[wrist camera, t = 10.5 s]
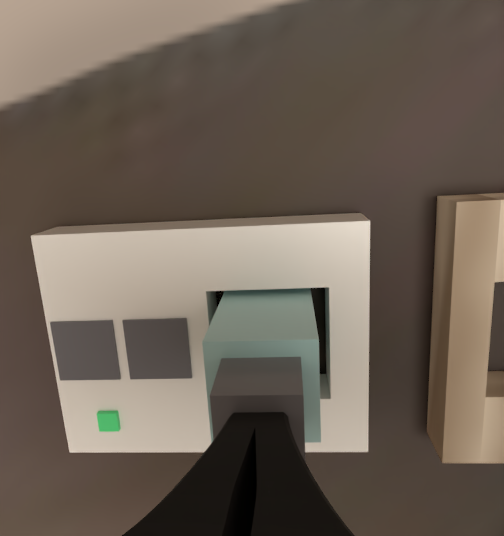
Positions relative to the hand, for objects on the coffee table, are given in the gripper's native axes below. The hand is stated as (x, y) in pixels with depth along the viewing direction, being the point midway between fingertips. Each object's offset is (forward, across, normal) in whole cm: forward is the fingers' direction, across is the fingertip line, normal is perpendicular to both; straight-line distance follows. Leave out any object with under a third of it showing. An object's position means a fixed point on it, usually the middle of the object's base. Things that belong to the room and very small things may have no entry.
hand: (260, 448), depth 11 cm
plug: (+8, 0, 0) cm, 8 cm away
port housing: (+8, +2, 0) cm, 8 cm away
